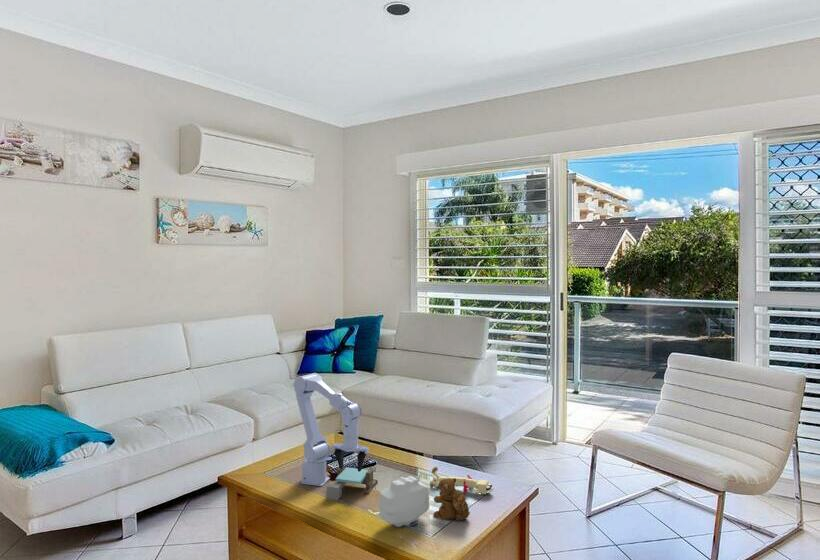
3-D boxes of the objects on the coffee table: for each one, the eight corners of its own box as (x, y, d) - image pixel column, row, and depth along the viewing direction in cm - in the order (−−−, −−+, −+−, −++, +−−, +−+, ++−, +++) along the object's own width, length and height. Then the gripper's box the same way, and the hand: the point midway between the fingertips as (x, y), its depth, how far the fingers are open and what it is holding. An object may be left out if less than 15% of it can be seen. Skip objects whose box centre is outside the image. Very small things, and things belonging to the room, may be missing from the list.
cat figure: (428, 493, 206) (490, 499, 197) (427, 471, 206) (488, 476, 197) (436, 483, 215) (495, 488, 206) (434, 462, 215) (494, 466, 206)
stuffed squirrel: (446, 505, 193) (447, 470, 193) (477, 518, 184) (477, 482, 183) (428, 514, 186) (429, 478, 185) (460, 528, 176) (460, 491, 176)
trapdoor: (335, 489, 201) (335, 478, 200) (346, 478, 211) (346, 467, 211) (359, 493, 198) (359, 481, 198) (369, 481, 209) (369, 470, 208)
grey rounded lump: (433, 521, 181) (433, 476, 180) (390, 537, 170) (391, 489, 170) (414, 509, 190) (414, 466, 189) (372, 523, 179) (373, 478, 178)
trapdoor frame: (335, 488, 206) (335, 470, 206) (345, 478, 216) (345, 460, 215) (369, 493, 202) (369, 474, 202) (377, 482, 212) (377, 464, 212)
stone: (326, 499, 197) (326, 486, 197) (330, 494, 201) (330, 481, 201) (337, 500, 196) (337, 487, 196) (341, 495, 200) (341, 482, 200)
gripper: (329, 436, 199) (329, 471, 200) (364, 440, 196) (364, 475, 196) (336, 430, 206) (336, 464, 207) (371, 434, 202) (370, 468, 203)
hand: (350, 469), depth 202 cm, fingers open, 7 cm apart
